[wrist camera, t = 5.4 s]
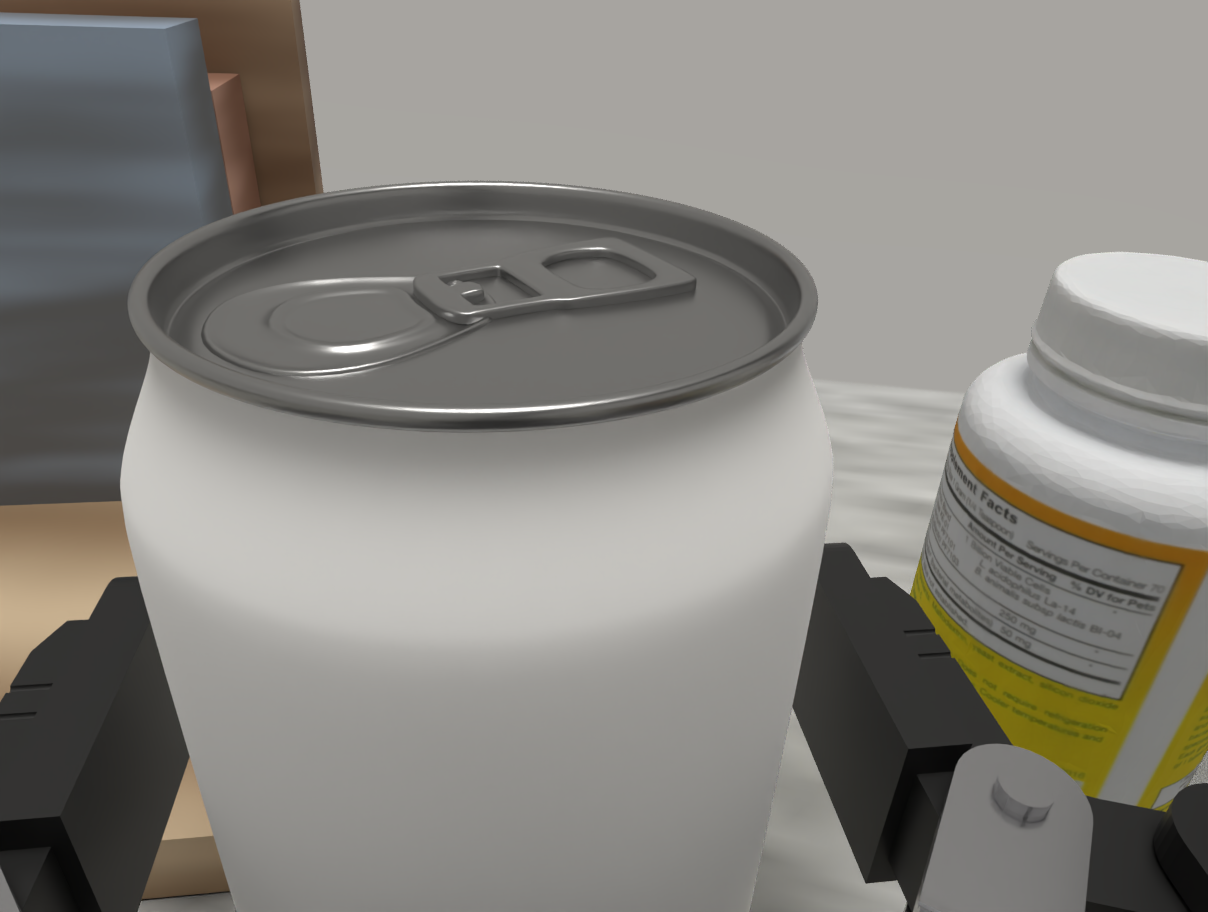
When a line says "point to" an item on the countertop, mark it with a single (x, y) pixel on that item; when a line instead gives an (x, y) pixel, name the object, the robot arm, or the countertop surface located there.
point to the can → (480, 543)
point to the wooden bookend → (117, 277)
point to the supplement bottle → (1087, 530)
